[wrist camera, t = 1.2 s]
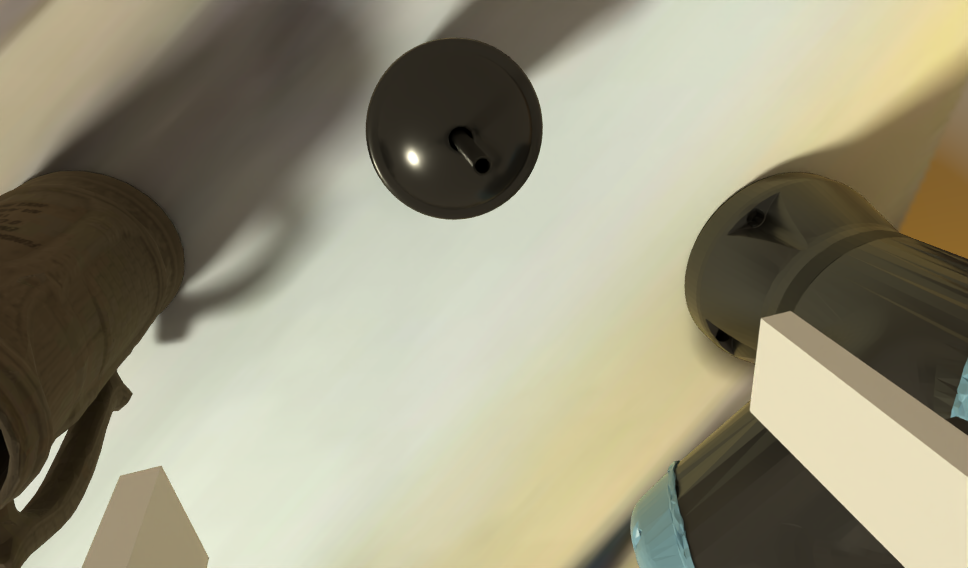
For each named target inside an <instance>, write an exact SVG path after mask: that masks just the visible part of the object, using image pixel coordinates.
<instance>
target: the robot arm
mask: <svg viewBox="0 0 968 568" xmlns="http://www.w3.org/2000/svg"><path fill="white" fill-rule="evenodd" d="M685 296H686V302H687V306H688V309H689V312H690V314H691V316H692V318H693V320H694V322H695V323H696V325H697V326H698V328H699V329H700V330H701V331H702V332H703V333H704V334H705V335H706V336H707V337H708V338H709V339H711V340H712V341H713V342H714V343H715V344H716V345H717V346H718V347H720V348H721V349H722V350H724V351H726V352H727V353H729V354H731V355H733V356H735V357H737V358H740V359H743V360H746V361H749V362H752V363H755V371H754V379H753V387H752V395H751V400H750V401H749V402H748V403H747V404H746V405H744V406H743V407H742V408H741V409H740V410H739V411H738V412H736V413H735V414H734V415H733V416H732V417H731V418H730V419H728V420H727V421H726V422H725V423H724V424H723V425H722V426H720V427H719V428H718V429H717V430H716V431H715V432H714V433H712V434H711V435H710V436H709V437H708V438H707V439H705V440H704V441H703V442H702V443H701V444H700V445H699V446H697V447H696V448H695V449H694V450H693V451H692V452H691V453H689V454H688V455H687V456H686V457H685V458H684V459H683V460H681V461H674V462H673V463H672V464H671V465H670V466H669V469H668V472H667V473H666V474H665V475H664V476H663V477H662V478H661V479H660V480H659V481H658V482H657V483H656V484H655V485H654V486H653V487H652V488H651V489H650V490H649V491H648V492H647V493H646V494H645V495H644V496H643V497H642V498H641V499H640V500H639V501H638V502H637V504H636V506H635V508H634V510H633V513H632V517H631V537H632V543H633V547H634V550H635V554H636V559H637V562H638V565H639V568H968V259H966V258H964V257H961V256H958V255H956V254H953V253H950V252H948V251H945V250H942V249H940V248H937V247H934V246H932V245H929V244H926V243H924V242H921V241H919V240H916V239H913V238H911V237H908V236H906V235H903V234H901V233H899V232H898V231H897V230H896V229H895V228H894V227H893V226H892V225H891V224H890V223H889V222H888V221H887V220H886V219H885V218H884V217H883V216H882V215H881V214H880V213H879V212H878V211H877V210H876V209H875V208H874V207H873V206H872V205H871V204H869V203H868V202H867V201H866V200H865V198H864V197H862V196H861V195H860V194H859V193H858V192H856V191H855V190H853V189H852V188H850V187H848V186H846V185H844V184H842V183H840V182H837V181H834V180H831V179H828V178H825V177H822V176H819V175H816V174H811V173H803V172H792V173H783V174H778V175H774V176H771V177H767V178H765V179H762V180H759V181H757V182H755V183H753V184H751V185H749V186H748V187H746V188H744V189H743V190H741V191H739V192H738V193H737V194H735V195H734V196H733V197H731V198H730V199H729V200H728V201H726V202H725V203H724V204H723V205H722V206H721V207H720V208H719V209H718V210H717V211H716V212H715V214H714V215H713V216H712V217H711V218H710V220H709V221H708V222H707V224H706V225H705V226H704V228H703V229H702V231H701V233H700V234H699V236H698V238H697V240H696V242H695V244H694V246H693V249H692V251H691V254H690V257H689V260H688V264H687V269H686V275H685ZM208 559H209V557H208V555H207V553H206V551H205V549H204V548H203V546H202V544H201V542H200V540H199V538H198V536H197V534H196V532H195V530H194V528H193V526H192V524H191V522H190V520H189V518H188V516H187V514H186V513H185V511H184V509H183V507H182V505H181V503H180V501H179V499H178V497H177V495H176V493H175V491H174V489H173V487H172V485H171V483H170V481H169V479H168V478H167V476H166V474H165V472H164V470H163V468H162V466H158V467H154V468H150V469H146V470H142V471H138V472H134V473H130V474H126V475H122V476H120V477H119V480H118V482H117V484H116V487H115V489H114V492H113V494H112V496H111V499H110V501H109V504H108V506H107V508H106V511H105V513H104V516H103V518H102V520H101V523H100V525H99V528H98V530H97V532H96V535H95V537H94V540H93V542H92V544H91V547H90V549H89V552H88V554H87V556H86V559H85V561H84V564H83V566H82V568H207V564H208Z"/></svg>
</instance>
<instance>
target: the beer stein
mask: <svg viewBox="0 0 968 568" xmlns="http://www.w3.org/2000/svg"><path fill="white" fill-rule="evenodd" d="M183 275H184V251H183V247H182V244H181V241H180V238H179V235H178V233H177V231H176V229H175V228H174V226H173V224H172V222H171V221H170V219H169V218H168V217H167V216H166V214H165V213H164V212H163V210H162V209H161V208H160V207H159V206H158V205H157V204H156V203H155V202H154V201H152V200H151V199H150V198H149V197H148V196H147V195H145V194H144V193H142V192H140V191H139V190H137V189H135V188H134V187H132V186H131V185H129V184H127V183H125V182H122V181H120V180H118V179H115V178H113V177H109V176H106V175H102V174H97V173H92V172H86V171H57V172H54V173H50V174H46V175H42V176H39V177H36V178H34V179H31V180H29V181H27V182H26V183H24V184H22V185H20V186H19V187H17V188H15V189H14V190H11V191H9V192H7V193H5V194H3V195H1V196H0V568H21V566H22V565H23V563H24V562H25V561H26V560H27V558H28V557H29V556H30V555H31V554H32V553H33V552H34V551H36V550H37V549H38V548H39V547H40V546H41V545H43V544H44V543H45V542H46V541H47V540H48V539H49V538H51V537H52V536H53V535H54V534H55V533H56V532H57V531H58V530H60V529H61V528H62V526H63V525H64V524H65V523H66V522H67V521H68V520H69V519H70V518H71V516H72V515H73V513H74V512H75V510H76V509H77V507H78V505H79V503H80V502H81V500H82V498H83V496H84V494H85V492H86V489H87V487H88V485H89V483H90V480H91V478H92V476H93V473H94V471H95V467H96V464H97V461H98V458H99V455H100V452H101V449H102V445H103V441H104V437H105V433H106V429H107V426H108V423H109V420H110V417H111V415H112V412H113V411H119V410H120V409H121V408H122V407H124V406H125V405H126V404H127V403H128V401H129V400H130V398H131V396H132V394H133V393H132V392H131V391H130V390H129V389H128V388H127V386H126V385H125V384H124V383H123V382H122V380H121V378H120V377H119V375H118V373H117V369H118V367H119V366H120V365H121V363H122V362H123V361H124V360H125V359H126V358H127V357H128V356H129V355H130V354H131V352H132V350H133V348H134V347H135V346H136V345H137V344H138V343H139V341H140V340H141V339H142V337H143V336H144V334H145V333H146V331H147V330H148V328H149V327H150V325H151V324H152V323H153V322H154V320H155V319H156V317H157V316H158V315H159V314H160V313H161V312H162V311H163V310H164V309H165V308H167V306H168V305H169V304H170V302H171V301H172V300H173V298H174V297H175V295H176V294H177V292H178V290H179V288H180V285H181V282H182V279H183ZM66 430H68V431H67V434H66V436H65V438H64V440H63V442H62V444H61V446H60V448H59V451H58V453H57V455H56V457H55V459H54V461H53V463H52V465H51V467H50V469H49V471H48V473H47V475H46V477H45V479H44V481H43V482H42V484H41V486H40V487H39V489H38V491H37V492H36V494H35V495H34V497H33V498H32V499H31V500H30V502H29V503H28V504H27V505H26V506H25V508H24V509H23V510H22V511H21V512H19V511H18V510H17V509H16V507H15V504H14V500H13V499H15V498H16V497H17V496H19V495H20V494H21V493H22V492H23V491H24V490H25V489H26V487H27V486H28V485H29V484H30V483H31V482H32V481H33V480H34V478H35V477H36V476H37V475H38V474H39V473H40V471H41V469H42V467H43V466H44V464H45V462H46V460H47V458H48V456H49V452H50V449H51V446H52V444H53V443H54V441H55V439H56V438H57V437H59V436H60V435H61V434H63V433H64V432H65V431H66Z"/></svg>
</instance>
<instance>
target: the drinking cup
mask: <svg viewBox="0 0 968 568" xmlns="http://www.w3.org/2000/svg"><path fill="white" fill-rule="evenodd" d="M542 134H543V123H542V114H541V108H540V104H539V100H538V97H537V95H536V92H535V90H534V88H533V86H532V84H531V82H530V80H529V79H528V77H527V76H526V74H525V73H524V72H523V70H522V69H521V68H520V67H519V66H518V65H517V64H516V63H515V62H514V61H513V60H512V59H511V58H510V57H509V56H507V55H506V54H504V53H503V52H502V51H500V50H498V49H496V48H495V47H493V46H490V45H488V44H486V43H483V42H480V41H477V40H472V39H467V38H443V39H437V40H432V41H429V42H426V43H423V44H421V45H418V46H416V47H414V48H412V49H411V50H409V51H407V52H406V53H404V54H403V55H402V56H400V57H399V58H398V59H397V60H396V61H395V62H394V63H393V64H392V65H391V66H390V67H389V68H388V69H387V70H386V71H385V73H384V74H383V76H382V77H381V78H380V80H379V82H378V84H377V85H376V87H375V89H374V92H373V94H372V97H371V100H370V103H369V106H368V111H367V118H366V141H367V147H368V152H369V155H370V159H371V161H372V164H373V166H374V169H375V171H376V172H377V174H378V176H379V178H380V179H381V181H382V182H383V184H384V185H385V186H386V188H387V189H388V190H389V191H390V192H391V193H392V194H393V195H394V196H395V197H396V198H397V199H398V200H400V201H401V202H402V203H404V204H405V205H406V206H408V207H410V208H411V209H413V210H415V211H417V212H420V213H422V214H424V215H428V216H431V217H435V218H440V219H452V220H457V219H467V218H472V217H476V216H480V215H482V214H485V213H488V212H490V211H492V210H494V209H496V208H497V207H499V206H501V205H502V204H504V203H505V202H506V201H508V200H509V199H510V198H511V197H512V196H514V195H515V194H516V193H517V192H518V190H519V189H520V188H521V187H522V186H523V184H524V183H525V182H526V180H527V179H528V177H529V176H530V174H531V172H532V170H533V168H534V166H535V164H536V161H537V159H538V155H539V152H540V148H541V143H542Z"/></svg>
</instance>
